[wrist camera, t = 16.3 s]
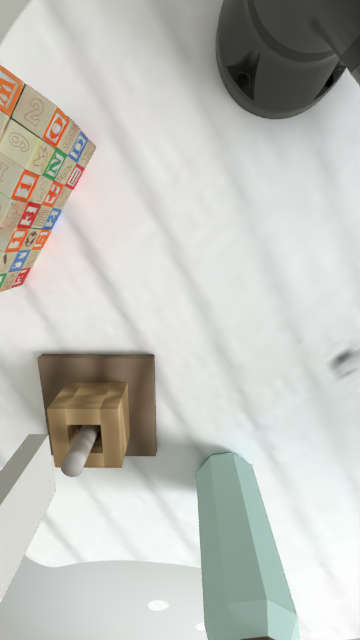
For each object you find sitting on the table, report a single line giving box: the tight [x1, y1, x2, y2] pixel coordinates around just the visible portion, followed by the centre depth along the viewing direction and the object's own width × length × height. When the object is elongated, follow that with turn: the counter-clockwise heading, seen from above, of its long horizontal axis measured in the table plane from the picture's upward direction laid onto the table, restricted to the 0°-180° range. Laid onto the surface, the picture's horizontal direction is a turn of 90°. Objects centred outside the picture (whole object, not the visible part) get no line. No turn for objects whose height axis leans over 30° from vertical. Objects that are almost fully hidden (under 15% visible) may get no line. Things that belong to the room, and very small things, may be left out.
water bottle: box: [196, 452, 300, 640], centre depth 38 cm, size 10×10×25 cm
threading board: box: [38, 354, 157, 477], centre depth 41 cm, size 17×17×14 cm
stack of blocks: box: [0, 65, 96, 292], centre depth 33 cm, size 21×6×12 cm, turn 146°
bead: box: [47, 383, 130, 468], centre depth 42 cm, size 9×9×7 cm
